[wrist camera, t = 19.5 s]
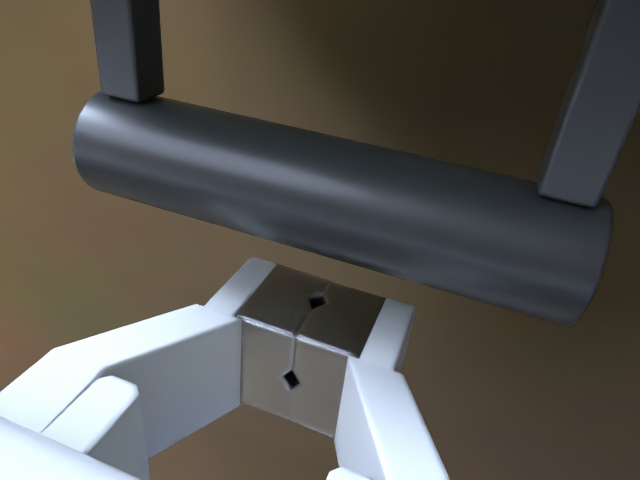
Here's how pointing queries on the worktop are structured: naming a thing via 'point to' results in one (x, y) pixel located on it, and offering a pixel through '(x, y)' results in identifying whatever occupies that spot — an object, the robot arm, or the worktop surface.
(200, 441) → the worktop surface
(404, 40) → the worktop surface
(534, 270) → the drawer
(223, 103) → the worktop surface
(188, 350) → the robot arm
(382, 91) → the worktop surface
